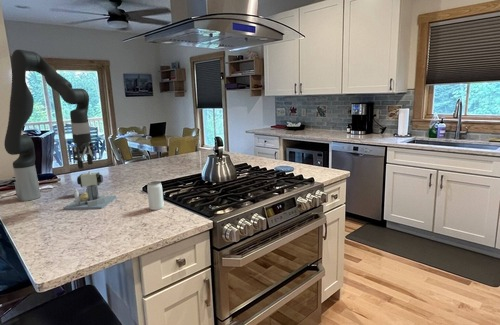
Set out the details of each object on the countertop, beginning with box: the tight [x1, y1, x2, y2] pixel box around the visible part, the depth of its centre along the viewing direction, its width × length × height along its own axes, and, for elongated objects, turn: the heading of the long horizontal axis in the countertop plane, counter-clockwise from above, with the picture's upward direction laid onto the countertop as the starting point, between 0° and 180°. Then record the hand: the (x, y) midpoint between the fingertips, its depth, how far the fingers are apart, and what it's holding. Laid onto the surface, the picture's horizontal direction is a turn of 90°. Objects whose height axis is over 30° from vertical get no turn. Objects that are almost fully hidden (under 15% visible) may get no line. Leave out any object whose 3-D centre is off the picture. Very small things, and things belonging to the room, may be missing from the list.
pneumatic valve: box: [76, 171, 104, 193], centre depth 170 cm, size 6×12×12 cm, turn 102°
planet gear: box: [85, 185, 100, 204], centre depth 152 cm, size 8×8×8 cm
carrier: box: [62, 188, 117, 211], centre depth 153 cm, size 18×16×8 cm
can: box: [146, 180, 165, 211], centre depth 144 cm, size 6×6×12 cm
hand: (85, 166), depth 150 cm, fingers open, 8 cm apart
